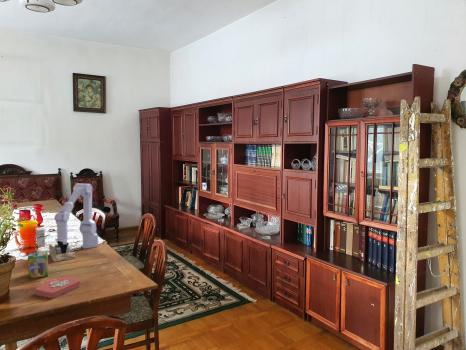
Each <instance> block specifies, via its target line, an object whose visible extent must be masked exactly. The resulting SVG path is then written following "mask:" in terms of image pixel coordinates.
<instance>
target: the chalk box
mask: <svg viewBox="0 0 466 350" xmlns="http://www.w3.org/2000/svg"><path fill="white" fill-rule="evenodd" d="M34 248H35V249H34V251H35V252H30V253H28V256H27V270H28V279H29V278H31V279H37V278H44V277H49V266H48V265H49V263H48V261H49V260H48V251H47V250H46V251H38V249H37V247H34Z"/></svg>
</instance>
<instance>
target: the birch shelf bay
mask: <svg viewBox="0 0 466 350" xmlns="http://www.w3.org/2000/svg"><path fill="white" fill-rule="evenodd" d="M57 247H59V246H58V243H56V244H54V246H53V245H52V244H48V251H49V252H48V253H49V256H50V257H51V260H52V261H54V263H55V262H60V261H67V260H73V259H77V258H76V257H77V256H76V255H77V254H76V251H70V253H65V254H58V255H56V248H57Z"/></svg>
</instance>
